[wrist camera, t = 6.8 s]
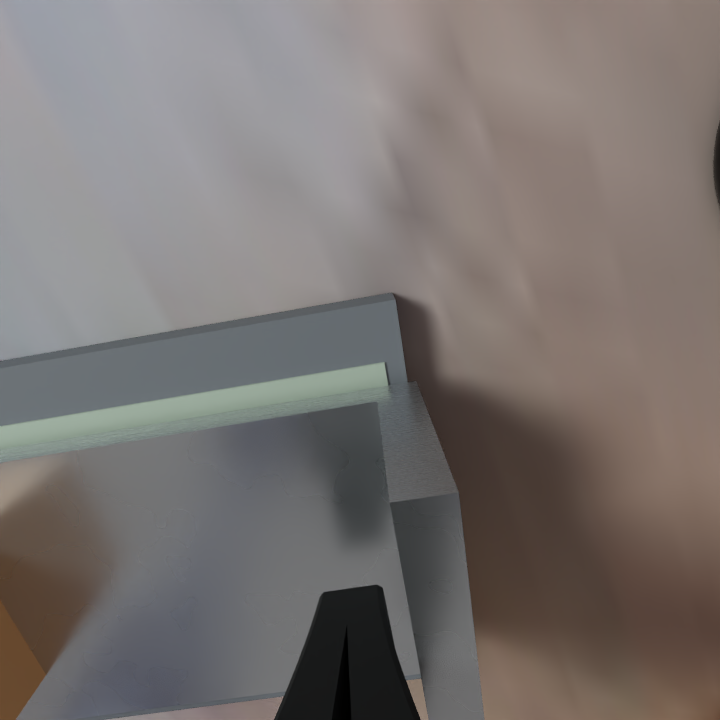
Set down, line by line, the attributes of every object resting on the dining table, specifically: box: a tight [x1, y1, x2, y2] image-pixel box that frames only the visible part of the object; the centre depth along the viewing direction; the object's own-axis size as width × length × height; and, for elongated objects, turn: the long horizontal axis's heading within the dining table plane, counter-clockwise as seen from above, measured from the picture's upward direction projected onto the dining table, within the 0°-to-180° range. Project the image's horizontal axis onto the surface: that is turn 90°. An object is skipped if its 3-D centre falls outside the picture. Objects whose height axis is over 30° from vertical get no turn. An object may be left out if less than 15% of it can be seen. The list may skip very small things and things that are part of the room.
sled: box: [0, 381, 484, 720], centre depth 10 cm, size 9×19×4 cm, turn 100°
